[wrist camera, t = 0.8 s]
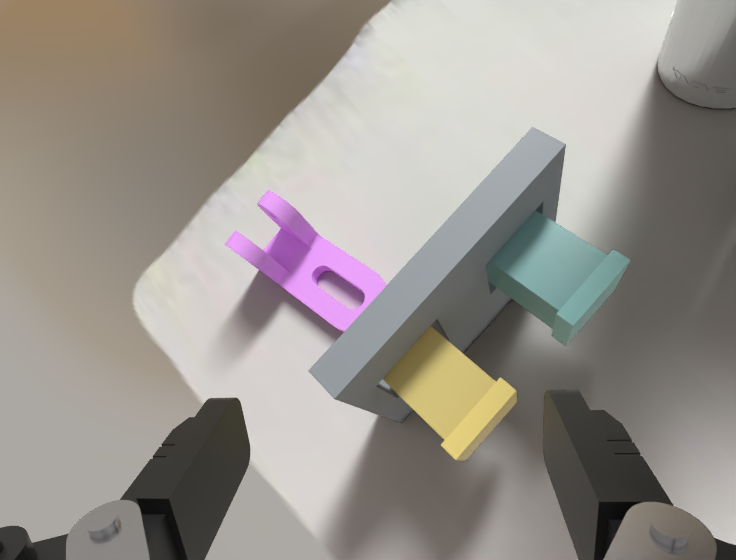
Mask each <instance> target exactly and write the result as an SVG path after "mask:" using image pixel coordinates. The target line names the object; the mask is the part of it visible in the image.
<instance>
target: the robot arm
mask: <svg viewBox="0 0 736 560" xmlns="http://www.w3.org/2000/svg"><path fill="white" fill-rule="evenodd" d="M658 73H659V75H660V78H661V81H662V82H663V83H664V85H665V86H666V87H667V89H668V90H670V91H671V92H672V93H673V94H674V95H676V96H677V97H679V98H681V99H683V100H685V101H686V102H689V103H692V104H695V105H698V106H703V107H709V108H736V0H677V3H676V6H675V9H674V12H673V15H672V18H671V21H670V24H669V27H668V30H667V33H666V36H665V39H664V42H663V45H662V48H661V51H660V54H659V58H658ZM543 453H544V459H545V464H546V468H547V471H548V473H549V476H550V479H551V482H552V485H553V488H554V490H555V493H556V496H557V499H558V502H559V505H560V507H561V510H562V513H563V516H564V519H565V522H566V524H567V527H568V530H569V533H570V536H571V539H572V542H573V544H574V547H575V550H576V553H577V556H578V559H579V560H736V545H733V544H730V543H726V542H723V541H721V540H718V539H716V538H714V537H713V535H712V534H711V532H710V531H709V530H708V528H707V527H706V526H705V525H704V524H703V523H702V522H701V521H700V520H698V519H697V518H695V517H694V516H693V515H691V514H689V513H688V512H686V511H684V510H682V509H680V508H678V507H675V506H673V504H672V502H671V501H670V499H669V498H668V496H667V495H666V493H665V491H664V490H663V488H662V487H661V485H660V484H659V482H658V480H657V479H656V477H655V476H654V474H653V472H652V471H651V469H650V468H649V466H648V465H647V463H646V461H645V460H644V458H643V457H642V456H640V452H639V450H638V449H637V447H636V446H635V444H634V443H632V439H631V438H630V436H629V435H628V433H627V432H626V430H625V428H624V427H623V425H622V424H621V423H620V422H619V421H617V420H616V419H615V418H613V417H612V416H611V415H609V414H608V413H607V412H605V411H604V410H590V409H589V408H588V406H587V404H586V402H585V400H584V399H583V397H582V395H581V393H580V392H579V391H578V390H551V391H546V392H545V396H544V419H543ZM249 460H250V443H249V438H248V434H247V429H246V425H245V420H244V416H243V411H242V407H241V403H240V401H239V399H238V398H210V399H208V400H207V401H206V402H205V403H204V405H203V406H202V408H201V409H200V410H199V412H198V413H197V415H196V416H195V417H189V418H188V419H187V420H185V421H184V422H182V423H181V424H180V425H179V426H177V427H176V428H175V429H173V430H172V431H171V433H170V434H169V435H168V437H167V438H166V440H165V441H164V442H163V443H162V447H159V449H158V450H157V451H156V453H155V454H154V455H153V459H150V461H149V462H148V463H147V464H146V466H145V467H144V469H143V470H142V471H141V472H140V474H139V475H138V476H137V478H136V479H135V480H134V482H133V483H132V484H131V486H130V487H129V488H128V490H127V491H126V492H125V494H124V495H123V496H122V498H121V499H120V500H117V501H113V502H109V503H106V504H104V505H101V506H99V507H97V508H95V509H94V510H92V511H90V512H89V513H87V514H86V515H85V516H83V517H82V518H81V519H80V520H79V521H78V522H77V523H76V524H75V525H74V526H73V528H72V529H71V531H70V532H69V534H66V535H62V536H58V537H55V538H50V539H46V540H42V541H39V542H34V543H32V542H31V540H30V538H29V535H28V533H27V531H26V530H25V529H24V528H22V527H19V526H7V527H2V528H0V560H204V559H205V557H206V555H207V553H208V551H209V549H210V547H211V544H212V542H213V540H214V538H215V536H216V534H217V532H218V530H219V528H220V525H221V523H222V521H223V519H224V517H225V515H226V512H227V511H228V508H229V506H230V504H231V502H232V500H233V497H234V496H235V494H236V491H237V489H238V487H239V485H240V483H241V481H242V479H243V476H244V474H245V472H246V470H247V468H248V465H249Z"/></svg>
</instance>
